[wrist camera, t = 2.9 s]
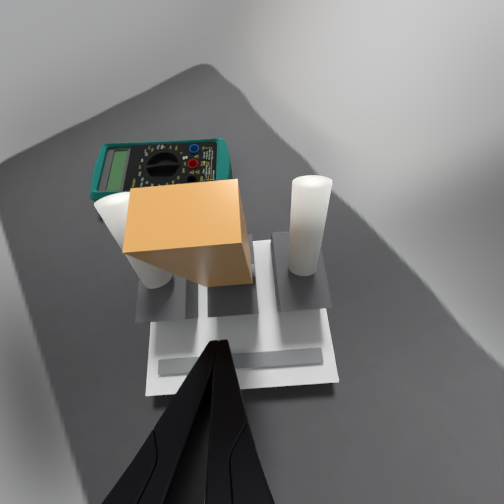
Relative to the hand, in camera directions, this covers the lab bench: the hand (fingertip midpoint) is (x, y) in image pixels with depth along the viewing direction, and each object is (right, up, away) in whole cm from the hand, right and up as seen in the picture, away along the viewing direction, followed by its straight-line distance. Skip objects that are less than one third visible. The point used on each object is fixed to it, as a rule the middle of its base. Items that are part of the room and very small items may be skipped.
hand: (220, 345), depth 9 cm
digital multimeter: (-8, +13, +14) cm, 21 cm away
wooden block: (0, +3, +5) cm, 6 cm away
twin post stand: (0, -1, +9) cm, 9 cm away
